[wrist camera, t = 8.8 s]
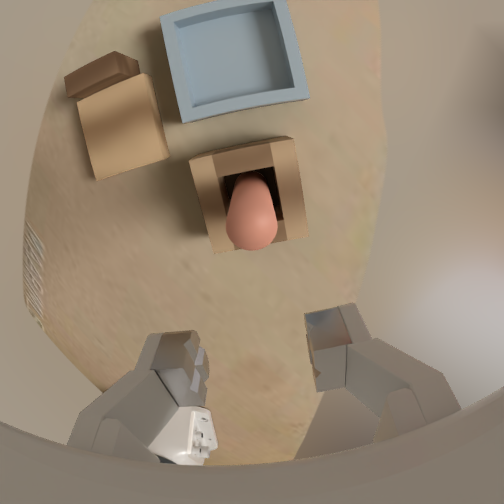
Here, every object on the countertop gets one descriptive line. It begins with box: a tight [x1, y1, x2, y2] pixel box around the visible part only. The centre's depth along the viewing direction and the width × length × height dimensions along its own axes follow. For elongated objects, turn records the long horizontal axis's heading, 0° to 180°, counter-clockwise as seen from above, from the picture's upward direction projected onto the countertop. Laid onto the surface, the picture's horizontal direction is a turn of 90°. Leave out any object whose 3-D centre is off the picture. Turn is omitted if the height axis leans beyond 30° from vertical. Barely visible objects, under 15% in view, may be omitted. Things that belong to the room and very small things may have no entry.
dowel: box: [226, 171, 278, 250], centre depth 21 cm, size 3×3×10 cm
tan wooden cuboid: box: [77, 73, 170, 181], centre depth 22 cm, size 8×7×2 cm
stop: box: [64, 51, 140, 98], centre depth 18 cm, size 2×5×5 cm, turn 101°
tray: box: [160, 0, 310, 123], centre depth 19 cm, size 10×10×3 cm
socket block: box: [189, 136, 309, 254], centre depth 24 cm, size 8×8×4 cm
